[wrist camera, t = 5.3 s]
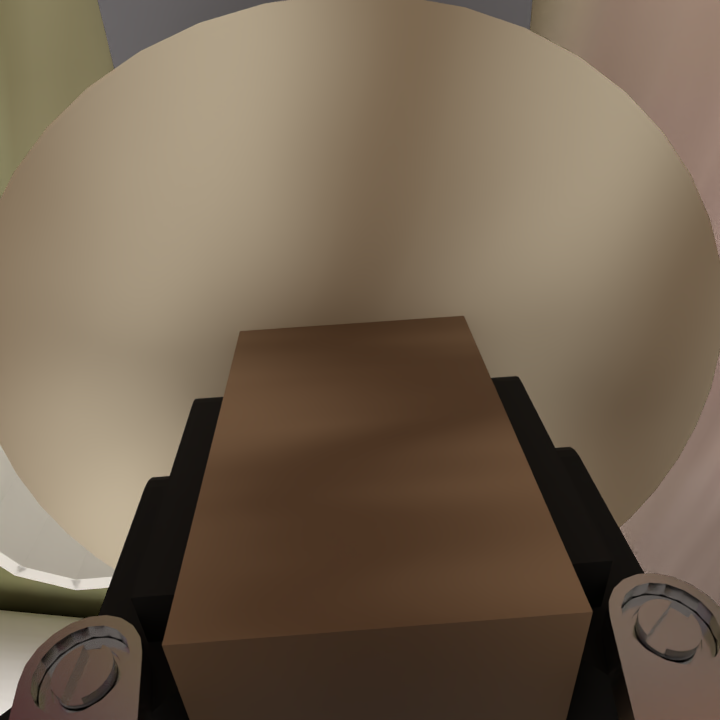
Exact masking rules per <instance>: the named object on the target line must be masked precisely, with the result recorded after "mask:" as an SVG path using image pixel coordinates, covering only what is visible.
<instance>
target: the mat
mask: <svg viewBox="0 0 720 720" xmlns="http://www.w3.org/2000/svg"><path fill="white" fill-rule="evenodd" d="M278 1H286V0H98V4H99V8H100V12H101V16H102V20H103V24H104V28H105V32H106V36H107V40H108V45H109V49H110V53H111V57H112V61H113V65H114V69H115V68H117V67H118V66H119V65H121V64H122V63H124V62H125V61H127V60H128V59H130V58H131V57H132V56H134V55H135V54H137V53H138V52H140V51H141V50H144V49H146V48H148V47H150V46H152V45H154V44H156V43H158V42H160V41H162V40H164V39H167V38H169V37H171V36H173V35H175V34H177V33H179V32H181V31H183V30H185V29H187V28H190V27H192V26H194V25H196V24H198V23H200V22H204V21H207V20H211V19H214V18H217V17H221V16H224V15H227V14H231V13H234V12H237V11H241V10H244V9H248V8H251V7H254V6H258V5H261V4H265V3H271V2H278ZM426 1H432V2H438V3H443V4H449V5H455V6H461V7H466V8H468V9H471V10H474V11H477V12H480V13H483V14H486V15H489V16H492V17H495V18H498V19H501V20H504V21H506V22H509V23H512V24H515V25H518V26H521V27H524V28H526V29H528V30H530V20H531V9H532V0H426Z"/></svg>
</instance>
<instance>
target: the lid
mask: <svg viewBox="0 0 720 720" xmlns="http://www.w3.org/2000/svg"><path fill="white" fill-rule="evenodd" d="M719 352H720V259H719V255H718V251H717V247H716V243H715V239H714V234H713V230H712V226H711V222H710V218H709V216H708V214H707V212H706V209H705V207H704V205H703V202H702V200H701V198H700V195H699V193H698V191H697V188H696V186H695V184H694V181H693V179H692V177H691V175H690V173H689V172H688V170H687V168H686V167H685V165H684V164H683V162H682V161H681V159H680V158H679V156H678V155H677V153H676V152H675V150H674V149H673V147H672V145H671V144H670V142H669V141H668V139H667V138H666V136H665V135H664V133H663V132H662V131H661V130H660V129H659V127H658V126H657V125H656V124H655V123H654V122H653V121H652V120H651V119H650V118H649V117H648V116H647V115H646V113H645V112H644V111H643V110H642V109H641V108H640V107H639V106H638V105H637V104H636V103H635V102H634V101H633V99H632V98H631V97H630V96H629V95H628V94H627V93H626V92H625V91H624V90H622V89H621V88H620V87H618V86H617V85H616V84H614V83H613V82H612V81H610V80H609V79H608V78H607V77H605V76H604V75H603V74H601V73H600V72H599V71H597V70H596V69H595V68H594V67H592V66H591V65H590V64H588V63H587V62H586V61H584V60H583V59H582V58H580V57H579V56H577V55H575V54H573V53H571V52H570V51H568V50H566V49H564V48H562V47H560V46H558V45H556V44H555V43H553V42H551V41H549V40H547V39H545V38H543V37H541V36H540V35H538V34H536V33H534V32H532V31H530V30H528V29H526V28H524V27H521V26H518V25H515V24H512V23H509V22H506V21H504V20H501V19H498V18H495V17H492V16H489V15H486V14H483V13H480V12H477V11H474V10H471V9H468V8H466V7H461V6H455V5H449V4H443V3H438V2H432V1H426V0H286V1H278V2H271V3H265V4H261V5H258V6H254V7H251V8H248V9H244V10H241V11H237V12H234V13H231V14H227V15H224V16H221V17H217V18H214V19H211V20H207V21H204V22H200V23H198V24H196V25H194V26H192V27H190V28H187V29H185V30H183V31H181V32H179V33H177V34H175V35H173V36H171V37H169V38H167V39H164V40H162V41H160V42H158V43H156V44H154V45H152V46H150V47H148V48H146V49H144V50H141V51H140V52H138V53H137V54H135V55H134V56H132V57H131V58H130V59H128V60H127V61H125V62H124V63H122V64H121V65H119V66H118V67H117V68H115V69H114V70H112V71H111V72H109V73H108V74H106V75H105V76H104V77H102V78H101V79H99V80H98V81H96V82H95V83H93V84H92V85H91V86H89V87H88V88H87V89H86V90H85V91H84V92H83V93H82V94H81V95H80V96H79V97H78V98H77V99H76V100H75V101H74V102H73V103H72V104H70V105H69V106H68V107H67V108H66V109H65V110H64V111H63V112H62V113H61V114H60V115H59V116H58V117H57V118H56V119H55V120H54V121H53V122H52V123H51V124H50V125H49V126H48V127H47V128H46V129H45V130H44V132H43V133H42V135H41V136H40V137H39V139H38V140H37V141H36V143H35V144H34V145H33V147H32V148H31V150H30V151H29V152H28V154H27V155H26V156H25V158H24V159H23V161H22V162H21V163H20V165H19V166H18V167H17V169H16V170H15V171H14V173H13V175H12V177H11V179H10V181H9V183H8V185H7V187H6V189H5V191H4V193H3V195H2V197H1V199H0V445H1V447H2V449H3V450H4V452H5V454H6V456H7V457H8V459H9V461H10V463H11V465H12V466H13V468H14V470H15V472H16V473H17V475H18V476H19V478H20V479H21V480H22V482H23V483H24V484H25V486H26V487H27V488H28V490H29V491H30V492H31V494H32V495H33V496H34V498H35V499H36V500H37V502H38V503H39V504H40V506H41V507H42V508H43V509H44V510H45V511H46V512H47V513H48V514H49V515H50V516H51V517H52V518H53V519H54V520H55V521H56V522H57V523H58V524H59V525H60V526H61V527H62V528H63V529H64V530H65V532H66V533H67V534H69V535H70V536H71V537H72V538H73V539H75V540H76V541H77V542H78V543H80V544H81V545H82V546H83V547H84V548H86V549H87V550H88V551H89V552H91V553H92V554H93V555H94V556H95V557H97V558H98V559H100V560H101V561H103V562H104V563H106V564H107V565H109V566H110V567H112V568H113V569H115V568H116V565H117V563H118V560H119V557H120V554H121V552H122V549H123V546H124V543H125V540H126V538H127V535H128V532H129V529H130V527H131V524H132V521H133V518H134V516H135V513H136V510H137V507H138V504H139V502H140V499H141V496H142V493H143V491H144V488H145V486H146V484H147V482H148V480H149V479H151V478H152V477H163V476H170V473H171V470H172V466H173V463H174V460H175V457H176V454H177V451H178V448H179V444H180V441H181V438H182V435H183V432H184V429H185V426H186V422H187V419H188V416H189V413H190V410H191V407H192V404H193V401H194V400H195V399H198V398H212V397H223V401H222V405H221V409H220V413H219V417H218V421H217V425H216V429H215V433H214V437H213V441H212V445H211V449H210V453H209V457H208V461H207V465H206V469H205V473H204V477H203V481H202V486H201V490H200V494H199V498H198V502H197V506H196V510H195V514H194V518H193V522H192V526H191V530H190V534H189V538H188V542H187V546H186V550H185V554H184V558H183V562H182V566H181V570H180V574H179V578H178V582H177V586H176V590H175V594H174V598H173V602H172V607H171V611H170V615H169V619H168V623H167V627H166V631H165V635H164V639H163V643H162V647H163V650H164V653H165V655H166V658H167V661H168V663H169V666H170V669H171V671H172V674H173V677H174V679H175V682H176V685H177V687H178V690H179V693H180V695H181V698H182V701H183V703H184V706H185V709H186V711H187V714H188V717H189V719H190V720H566V718H567V714H568V710H569V706H570V702H571V698H572V694H573V690H574V686H575V682H576V678H577V674H578V670H579V666H580V662H581V658H582V654H583V650H584V645H585V641H586V637H587V633H588V629H589V625H590V621H591V617H592V613H593V611H592V609H591V607H590V604H589V602H588V600H587V597H586V595H585V593H584V590H583V588H582V586H581V584H580V581H579V579H578V577H577V574H576V572H575V570H574V568H573V565H572V563H571V561H570V558H569V556H568V554H567V551H566V549H565V547H564V545H563V542H562V540H561V538H560V535H559V533H558V531H557V528H556V526H555V524H554V522H553V519H552V517H551V515H550V512H549V510H548V508H547V506H546V503H545V501H544V499H543V496H542V494H541V492H540V489H539V487H538V485H537V483H536V480H535V478H534V476H533V473H532V471H531V469H530V466H529V464H528V462H527V460H526V457H525V455H524V453H523V450H522V448H521V446H520V444H519V441H518V439H517V437H516V434H515V432H514V430H513V427H512V425H511V423H510V421H509V418H508V416H507V414H506V411H505V409H504V407H503V404H502V402H501V400H500V398H499V395H498V393H497V391H496V388H495V386H494V384H493V382H492V379H491V378H495V377H509V376H518V377H519V378H520V380H521V382H522V383H523V385H524V387H525V389H526V391H527V393H528V395H529V397H530V399H531V401H532V403H533V405H534V407H535V409H536V411H537V413H538V415H539V417H540V419H541V421H542V423H543V425H544V427H545V429H546V431H547V433H548V435H549V436H550V438H551V440H552V442H553V444H554V446H555V448H559V447H572V448H573V449H575V451H576V452H577V453H578V455H579V456H580V458H581V460H582V462H583V463H584V465H585V467H586V469H587V471H588V473H589V474H590V476H591V478H592V480H593V482H594V483H595V485H596V487H597V489H598V491H599V492H600V494H601V496H602V498H603V500H604V501H605V503H606V505H607V507H608V509H609V511H610V512H611V514H612V516H613V518H614V520H615V521H616V523H617V525H618V527H621V526H622V525H623V524H624V523H625V522H626V521H627V520H628V519H630V518H631V517H632V515H633V514H634V513H635V512H636V511H637V510H638V509H639V508H640V507H641V505H642V504H643V503H644V502H645V501H646V500H647V499H648V498H649V497H650V496H651V494H652V493H653V492H654V491H655V490H656V489H657V487H658V486H659V485H660V483H661V482H662V480H663V479H664V478H665V476H666V475H667V473H668V472H669V471H670V469H671V468H672V466H673V465H674V464H675V462H676V461H677V459H678V458H679V456H680V454H681V452H682V451H683V449H684V447H685V445H686V443H687V441H688V440H689V438H690V436H691V434H692V432H693V430H694V429H695V427H696V425H697V422H698V420H699V417H700V415H701V412H702V410H703V407H704V405H705V402H706V399H707V397H708V394H709V392H710V389H711V386H712V381H713V377H714V373H715V369H716V364H717V360H718V356H719Z"/></svg>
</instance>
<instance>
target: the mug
mask: <svg viewBox="0 0 720 720" xmlns="http://www.w3.org/2000/svg"><path fill="white" fill-rule="evenodd" d="M82 619H85V618H77V617H66V616H56V615H46V614H35V613H25V612H14V611H4V610H0V716H1V715H2V714H3V713H5V712H6V711H7V710H9V709H10V708H11V707H12V704H13V700H14V696H15V692H16V688H17V684H18V681H19V679H20V677H21V674H22V672H23V669H24V667H25V665H26V663H27V662H28V661H29V659H30V658H31V657H32V655H33V654H34V652H35V651H36V650H37V648H38V647H40V646H41V645H42V644H43V643H44V642H45V641H46V640H47V639H48V638H49V637H51V636H52V635H53V634H54V633H56V632H58V631H59V630H61V629H62V628H64V627H66V626H67V625H69V624H71V623H73V622H76V621H79V620H82Z"/></svg>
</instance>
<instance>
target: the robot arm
mask: <svg viewBox="0 0 720 720" xmlns="http://www.w3.org/2000/svg"><path fill="white" fill-rule="evenodd" d="M491 379H492V382H493V384H494V386H495V388H496V391H497V393H498V395H499V398H500V400H501V402H502V404H503V407H504V409H505V411H506V414H507V416H508V418H509V421H510V423H511V425H512V427H513V430H514V432H515V434H516V437H517V439H518V441H519V444H520V446H521V448H522V450H523V453H524V455H525V457H526V460H527V462H528V464H529V466H530V469H531V471H532V473H533V476H534V478H535V480H536V483H537V485H538V487H539V489H540V492H541V494H542V496H543V499H544V501H545V503H546V506H547V508H548V510H549V512H550V515H551V517H552V519H553V522H554V524H555V526H556V528H557V531H558V533H559V535H560V538H561V540H562V542H563V545H564V547H565V549H566V551H567V554H568V556H569V558H570V561H571V563H572V565H573V568H574V570H575V572H576V574H577V577H578V579H579V581H580V584H581V586H582V588H583V590H584V593H585V595H586V597H587V600H588V602H589V604H590V607H591V609H592V611H593V613H592V617H591V621H590V625H589V629H588V633H587V637H586V641H585V645H584V650H583V654H582V658H581V662H580V666H579V670H578V674H577V678H576V682H575V686H574V690H573V694H572V698H571V702H570V706H569V710H568V714H567V718H566V720H720V607H719V606H718V605H717V604H716V603H715V602H714V601H713V600H712V599H711V598H710V597H709V596H708V595H707V594H705V593H704V592H702V591H700V590H699V589H697V588H696V587H694V586H693V585H691V584H689V583H687V582H684V581H682V580H679V579H677V578H675V577H672V576H666V575H661V574H656V573H648V574H644V572H643V570H642V568H641V567H640V565H639V563H638V561H637V559H636V558H635V556H634V554H633V552H632V550H631V549H630V547H629V545H628V543H627V541H626V539H625V538H624V536H623V534H622V532H621V530H620V529H619V527H618V525H617V523H616V521H615V520H614V518H613V516H612V514H611V512H610V511H609V509H608V507H607V505H606V503H605V501H604V500H603V498H602V496H601V494H600V492H599V491H598V489H597V487H596V485H595V483H594V482H593V480H592V478H591V476H590V474H589V473H588V471H587V469H586V467H585V465H584V463H583V462H582V460H581V458H580V456H579V455H578V453H577V452H576V451H575V449H573V448H572V447H559V448H555V446H554V444H553V442H552V440H551V438H550V436H549V435H548V433H547V431H546V429H545V427H544V425H543V423H542V421H541V419H540V417H539V415H538V413H537V411H536V409H535V407H534V405H533V403H532V401H531V399H530V397H529V395H528V393H527V391H526V389H525V387H524V385H523V383H522V382H521V380H520V378H519V377H518V376H509V377H495V378H491ZM222 401H223V397H212V398H198V399H195V400H194V401H193V404H192V407H191V410H190V413H189V416H188V419H187V422H186V426H185V429H184V432H183V435H182V438H181V441H180V444H179V448H178V451H177V454H176V457H175V460H174V463H173V466H172V470H171V473H170V476H163V477H152V478H151V479H149V480H148V482H147V484H146V486H145V488H144V491H143V493H142V496H141V499H140V502H139V504H138V507H137V510H136V513H135V516H134V518H133V521H132V524H131V527H130V529H129V532H128V535H127V538H126V540H125V543H124V546H123V549H122V552H121V554H120V557H119V560H118V563H117V565H116V568H115V571H114V574H113V576H112V579H111V582H110V585H109V588H108V590H107V593H106V596H105V599H104V601H103V604H102V607H101V610H100V612H99V615H98V616H93V617H88V618H85V619H82V620H79V621H76V622H73V623H71V624H69V625H67V626H66V627H64V628H62V629H61V630H59V631H58V632H56V633H54V634H53V635H52V636H51V637H49V638H48V639H47V640H46V641H45V642H44V643H43V644H42V645H41V646H40V647H38V648H37V650H36V651H35V652H34V654H33V655H32V657H31V658H30V659H29V661H28V662H27V663H26V665H25V667H24V669H23V672H22V674H21V677H20V679H19V681H18V684H17V688H16V692H15V696H14V700H13V704H12V707H11V708H10V709H9V710H7V711H6V712H5V713H3V714H2V715H1V716H0V720H190V719H189V717H188V714H187V711H186V709H185V706H184V703H183V701H182V698H181V695H180V693H179V690H178V687H177V685H176V682H175V679H174V677H173V674H172V671H171V669H170V666H169V663H168V661H167V658H166V655H165V653H164V650H163V647H162V643H163V639H164V635H165V631H166V627H167V623H168V619H169V615H170V611H171V607H172V602H173V598H174V594H175V590H176V586H177V582H178V578H179V574H180V570H181V566H182V562H183V558H184V554H185V550H186V546H187V542H188V538H189V534H190V530H191V526H192V522H193V518H194V514H195V510H196V506H197V502H198V498H199V494H200V490H201V486H202V481H203V477H204V473H205V469H206V465H207V461H208V457H209V453H210V449H211V445H212V441H213V437H214V433H215V429H216V425H217V421H218V417H219V413H220V409H221V405H222Z"/></svg>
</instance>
